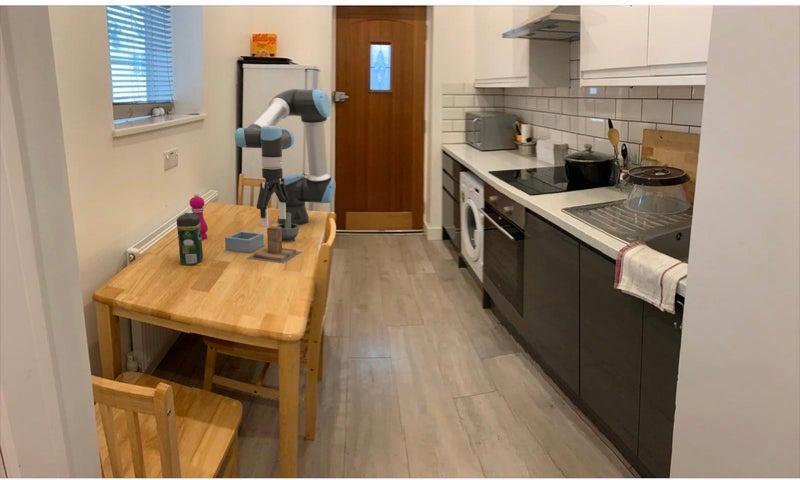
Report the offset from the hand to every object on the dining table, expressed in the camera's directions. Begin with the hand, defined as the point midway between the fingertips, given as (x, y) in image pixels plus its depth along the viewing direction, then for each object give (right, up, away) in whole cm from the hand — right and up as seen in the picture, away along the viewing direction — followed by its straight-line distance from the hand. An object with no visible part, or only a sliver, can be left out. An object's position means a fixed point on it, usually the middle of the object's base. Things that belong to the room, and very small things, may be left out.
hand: (273, 222), depth 211 cm
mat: (0, -14, +4) cm, 14 cm away
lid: (0, -13, +4) cm, 13 cm away
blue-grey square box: (-15, -11, +12) cm, 22 cm away
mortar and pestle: (0, -8, +26) cm, 27 cm away
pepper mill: (-38, -6, +26) cm, 47 cm away
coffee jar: (-30, -15, -4) cm, 34 cm away
